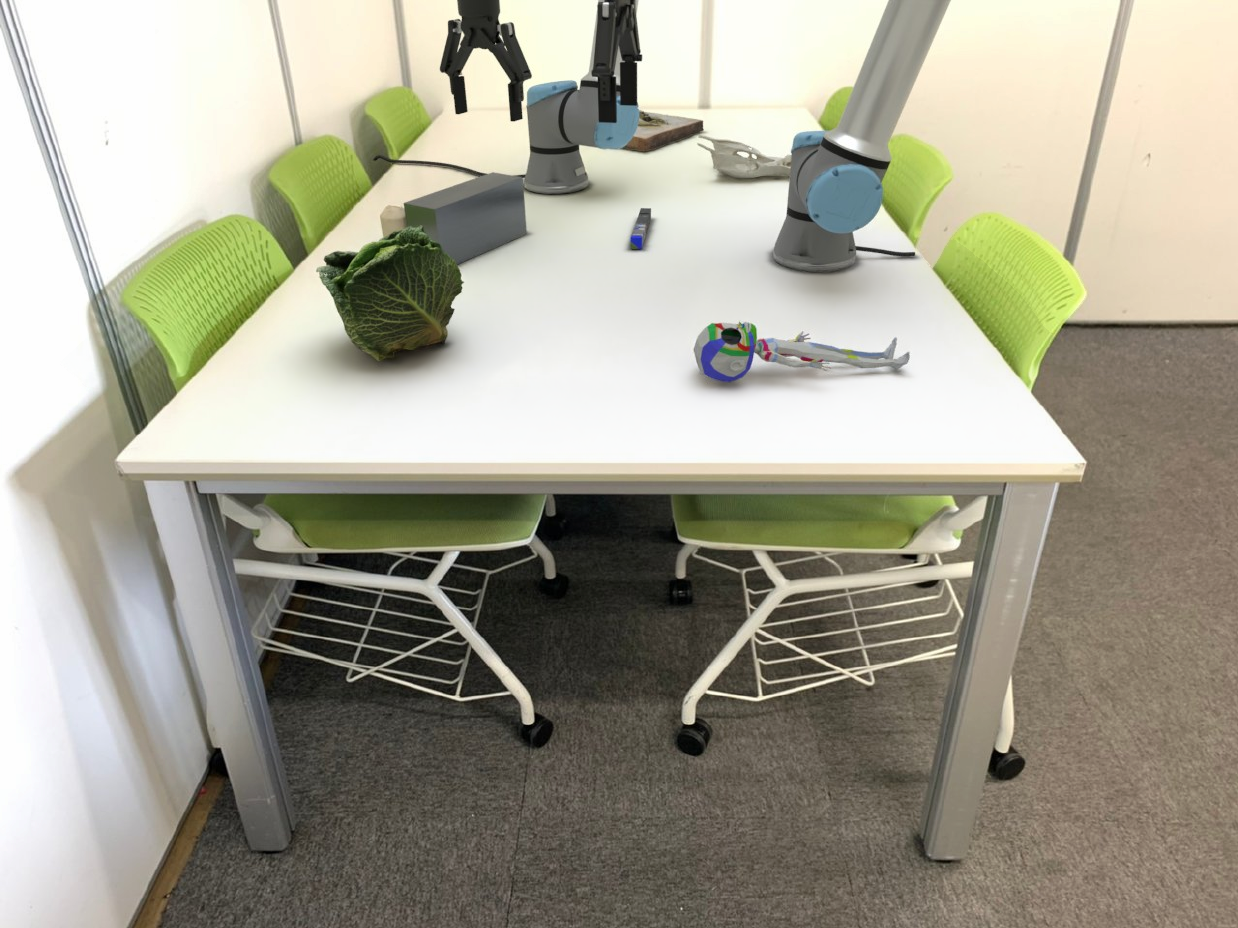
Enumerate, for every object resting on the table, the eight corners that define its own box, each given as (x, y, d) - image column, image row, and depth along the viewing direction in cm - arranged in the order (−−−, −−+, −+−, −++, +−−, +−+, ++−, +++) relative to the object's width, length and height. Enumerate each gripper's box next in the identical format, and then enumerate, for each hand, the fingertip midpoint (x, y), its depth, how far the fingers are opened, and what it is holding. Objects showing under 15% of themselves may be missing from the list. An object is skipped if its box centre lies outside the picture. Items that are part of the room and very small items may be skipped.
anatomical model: (699, 131, 223) (801, 130, 220) (699, 169, 228) (798, 168, 225) (695, 146, 211) (802, 144, 207) (695, 185, 216) (799, 184, 212)
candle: (421, 255, 174) (414, 203, 169) (406, 264, 170) (398, 212, 164) (396, 252, 176) (388, 201, 170) (381, 261, 171) (372, 209, 166)
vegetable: (383, 372, 146) (305, 267, 139) (481, 306, 148) (409, 199, 140) (387, 399, 128) (297, 280, 120) (499, 324, 129) (417, 201, 122)
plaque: (647, 125, 237) (559, 112, 252) (647, 153, 241) (560, 139, 256) (706, 107, 258) (622, 97, 273) (705, 133, 262) (622, 121, 277)
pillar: (651, 208, 191) (641, 238, 174) (650, 218, 192) (641, 249, 175) (640, 208, 191) (630, 238, 174) (640, 218, 192) (630, 249, 175)
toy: (920, 350, 124) (709, 333, 119) (901, 404, 128) (697, 389, 123) (893, 321, 132) (695, 304, 127) (877, 373, 137) (685, 357, 132)
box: (497, 228, 188) (492, 172, 182) (526, 234, 185) (522, 177, 179) (412, 263, 171) (403, 203, 164) (442, 271, 167) (434, 209, 161)
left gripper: (411, -10, 163) (426, 113, 174) (519, -5, 151) (528, 127, 163) (439, -13, 168) (452, 107, 180) (546, -8, 157) (552, 119, 168)
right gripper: (620, -33, 121) (622, 131, 132) (659, -44, 141) (658, 99, 152) (567, -33, 122) (573, 129, 134) (613, -44, 143) (615, 98, 154)
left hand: (488, 116), depth 171 cm, fingers open, 13 cm apart
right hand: (618, 113), depth 143 cm, fingers open, 13 cm apart
